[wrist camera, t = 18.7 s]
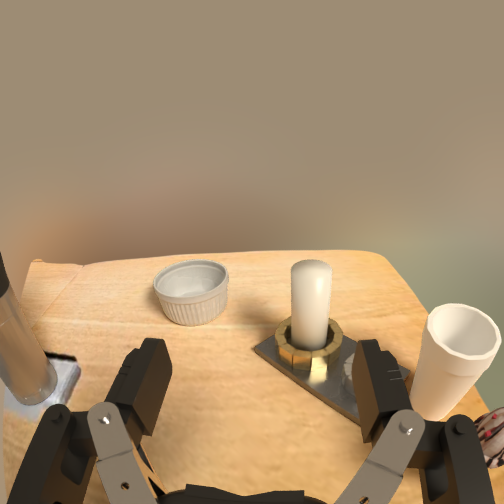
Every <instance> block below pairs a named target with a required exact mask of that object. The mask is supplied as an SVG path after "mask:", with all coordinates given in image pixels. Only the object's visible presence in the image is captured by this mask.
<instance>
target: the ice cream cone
mask: <svg viewBox="0 0 504 504" xmlns="http://www.w3.org/2000/svg"><path fill="white" fill-rule="evenodd" d="M474 424H475V427H476V430H477V433H478V436H479V440H480V443H481V446H482V450H483V454H484V457H485V461H486V465H487V467H488V468H490V469H492V468H497V467H500V466H502V465H504V407H501V408H498V409H495V410H493V411H492V412H490V413H486V414H484V415H482V416H480V417H479V418H478V419H477V420H475V421H474Z"/></svg>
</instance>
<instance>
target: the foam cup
mask: <svg viewBox="0 0 504 504" xmlns="http://www.w3.org/2000/svg"><path fill="white" fill-rule="evenodd" d="M500 344H501V336H500V332H499V328H498V327H497V326H496V325H495V323H494V322H493V320H492V319H491V318H490V317H489V316H487V315H486V314H484V313H483V312H481V311H480V310H478V309H476V308H473V307H470V306H467V305H464V304H445V305H442V306H439V307H436V308H435V309H434V310H433V311H432V312H431V313H430V314H429V316H428V317H427V321H426V324H425V327H424V330H423V333H422V346H421V350H420V355H419V359H418V364H417V368H416V372H415V376H414V380H413V384H412V387H411V391H410V395H409V399H410V402H411V405H412V408H413V410H414V411H416V412H417V413H419V414H420V415H421V416H422V417H423V419H425V420H429V421H438V420H440V419H442V418H444V417H445V415H447V414H448V413H449V412H450V411H451V410H452V409H453V407H454V406H455V405H456V404H457V403H458V402H459V401H460V400H461V399H462V397H463V396H464V395H465V394H466V393H467V392H468V390H469V389H470V388H471V387H472V386H473V384H474V383H475V382H476V381H477V379H478V378H479V377H480V376H481V374H482V373H483V372H484V371H485V370H486V369H488V368H489V366H490V364H491V362H492V361H493V359H494V357H495V355H496V353H497V351H498V349H499V346H500Z"/></svg>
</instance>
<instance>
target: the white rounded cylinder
mask: <svg viewBox="0 0 504 504" xmlns="http://www.w3.org/2000/svg"><path fill="white" fill-rule="evenodd" d="M331 282H332V268H331V266H330V265H329V264H327V263H325V262H323V261H319V260H303V261H300V262H297V263H295V264H294V265H293V266H292V268H291V346H292V347H294V348H295V349H297V350H302V351H309V352H313V351H317V350H321V349H325V348H326V339H327V329H328V319H329V308H330V295H331Z"/></svg>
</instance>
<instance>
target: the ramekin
mask: <svg viewBox="0 0 504 504" xmlns="http://www.w3.org/2000/svg"><path fill="white" fill-rule="evenodd" d="M228 282H229V275H228V271H227V269H226V267H225V266H224V265H222V264H221V263H218V262H216V261H212V260H206V259H192V260H186V261H181V262H178V263H175V264H172V265H170V266H168V267H166V268H164V269H163V270H161V271H160V272H159V273H158V274H157V275H156V276H155V278H154V281H153V287H154V291H155V293H156V295H157V296H158V298H159V301H160V304H161V306H162V308H163V311H164V313H165V314H166V316H167V317H168V318H169V319H170V320H172V321H173V322H175V323H177V324H180V325H184V326H198V325H203V324H206V323H209V322H211V321H213V320H215V319H216V318H217V317H219V316H220V315H221V313H222V312H223V311H224V310H225V307H226V305H227V298H228Z"/></svg>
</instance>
